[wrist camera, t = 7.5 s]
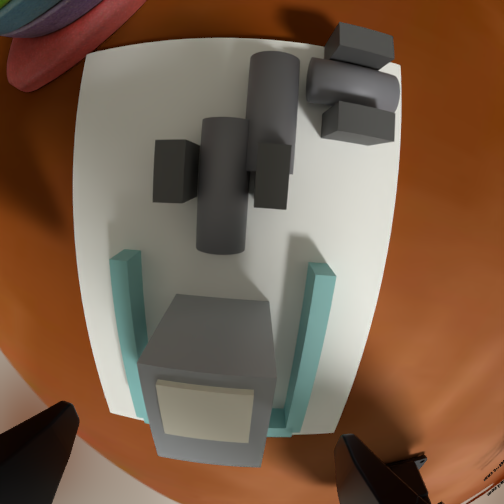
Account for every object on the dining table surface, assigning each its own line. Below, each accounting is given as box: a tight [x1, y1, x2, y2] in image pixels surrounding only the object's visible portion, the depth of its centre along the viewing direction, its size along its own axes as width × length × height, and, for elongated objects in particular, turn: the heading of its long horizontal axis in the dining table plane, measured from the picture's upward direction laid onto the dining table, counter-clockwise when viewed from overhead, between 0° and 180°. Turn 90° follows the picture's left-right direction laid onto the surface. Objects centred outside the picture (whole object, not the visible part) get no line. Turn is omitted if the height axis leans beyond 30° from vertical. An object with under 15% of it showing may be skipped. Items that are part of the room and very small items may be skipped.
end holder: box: [109, 249, 336, 437], centre depth 12 cm, size 9×9×2 cm
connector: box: [137, 294, 277, 467], centre depth 10 cm, size 5×4×5 cm
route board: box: [73, 22, 401, 435], centre depth 11 cm, size 20×14×3 cm
